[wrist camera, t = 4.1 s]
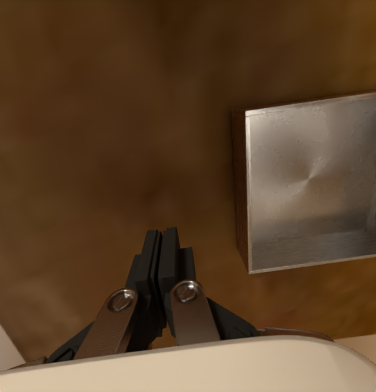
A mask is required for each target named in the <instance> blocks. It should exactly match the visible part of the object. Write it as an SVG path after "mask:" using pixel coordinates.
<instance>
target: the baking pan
mask: <svg viewBox="0 0 376 392" xmlns="http://www.w3.org/2000/svg"><path fill="white" fill-rule="evenodd" d="M231 128H232V149H233V170H234V192H235V213H236V234H237V248H238V250H239V253H240V255H241V257H242V260H243V262H244V264H245V267H246V269H247V271H248V274H254V273H261V272H269V271H276V270H283V269H291V268H298V267H305V266H313V265H320V264H328V263H335V262H342V261H350V260H357V259H364V258H372V257H376V89H373V90H366V91H359V92H352V93H345V94H338V95H331V96H324V97H317V98H310V99H304V100H297V101H290V102H283V103H276V104H269V105H262V106H255V107H248V108H241V109H234V110H231Z"/></svg>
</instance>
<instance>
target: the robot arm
mask: <svg viewBox="0 0 376 392" xmlns="http://www.w3.org/2000/svg"><path fill="white" fill-rule="evenodd" d="M167 321H168V325H169V327H170V331H171V335H172V336H173V337H175V338H176V343H177V346H175V347H168V348H160V349H152V346H153V345H152V342H153V341H154V339H155V338H156V337H162V330H163V328H166V325H167ZM0 392H376V364H374V363H373V362H372V361H370V360H369V359H368V358H366V357H365V356H363V355H362V354H360V353H358V352H356V351H355V350H353V349H350V348H348V347H346V346H343V345H340V344H337V343H335V342H334V341H333V340H332V339H331V338H330V337H328V336H326V335H324V334H322V333H318V332H312V331H301V330H291V329H280V328H270V327H265V330H259V329H256V328H255V327H254V326H253V325H251V324H250V323H248V322H247V321H245V320H244V319H242V318H240V317H239V316H237V315H235V314H234V313H232V312H230V311H229V310H227V309H225V308H224V307H222V306H221V305H219V304H217V303H216V302H214V301H212V300H211V299H209V298H207V297H206V295H205V293H204V290H203V287H202V285H201V284H200V283H199V282H198V281H196V275H195V266H194V259H193V252H192V247H190V248H182V249H180V244H179V238H178V233H177V228H176V227H172V228H167V231H164V232H163V237H162V233H161V232H158V230H150V231H147V235H146V238H145V242H144V246H143V250H142V253H141V254H139V255H135V257H134V260H133V263H132V266H131V269H130V272H129V275H128V279H127V282H126V285H125V288H122V289H119V290H117V291H115V292H113V293H112V294H111V295H110V296H109V297H108V298H107V300H106V301H105V303H104V305H103V306H102V308H101V310H100V312H99V313H98V315H97V317H96V319H95V321H93V322H92V323H91V324H90V325H88V326H87V327H86V328H84V329H83V330H82V331H80V332H79V333H78V334H77V335H75V336H74V337H73V338H71V339H70V340H69V341H67V342H66V343H65V344H64V345H62V346H61V347H60V348H58V349H57V350H56V351H55V352H54V353H53V354H52V355H51V356H50V357H49V358H48V359H47V357H46V356H45V357H42V358H39V359H36V360H33V361H30V362H28V363H25V364H22V365H19V366H16V367H13V368H11V369H8V370H4V371H0Z"/></svg>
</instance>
